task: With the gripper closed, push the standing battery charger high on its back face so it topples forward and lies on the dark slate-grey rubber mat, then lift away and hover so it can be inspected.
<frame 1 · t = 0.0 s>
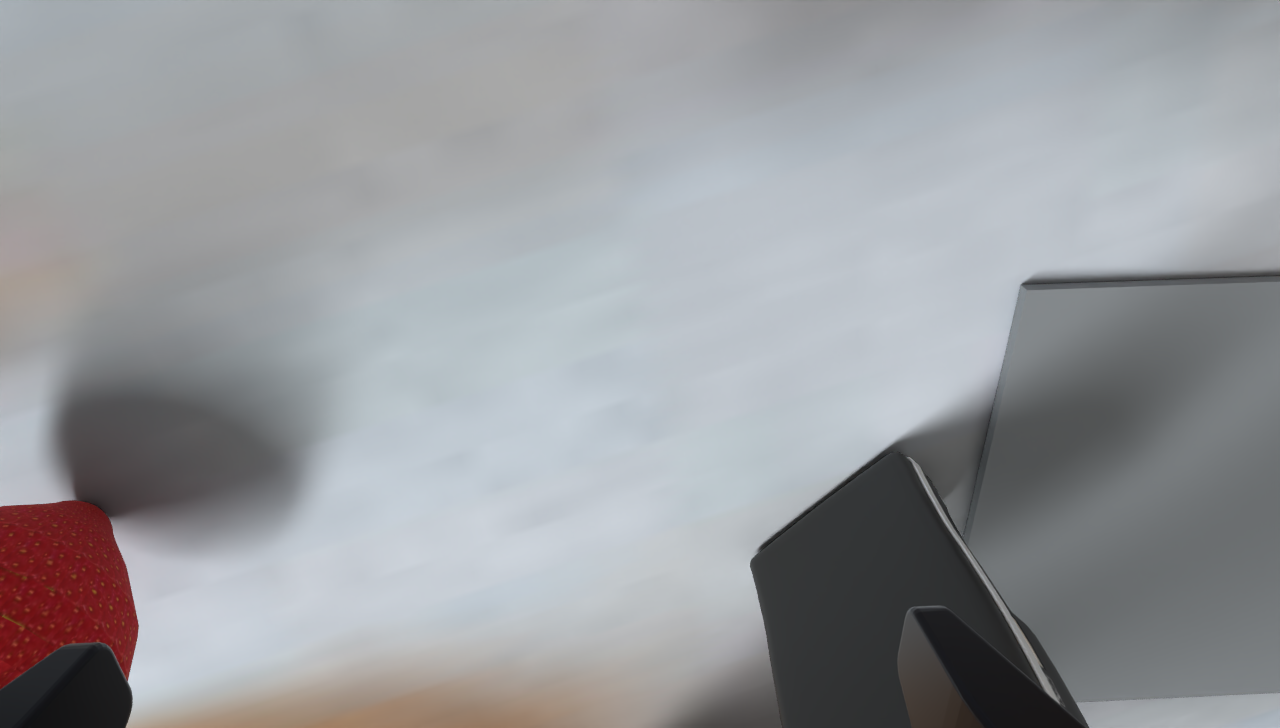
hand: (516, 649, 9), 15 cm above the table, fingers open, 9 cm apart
strawberry: (95, 509, 26), on the table
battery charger: (849, 525, 28), on the table
mat: (1194, 515, 28), on the table
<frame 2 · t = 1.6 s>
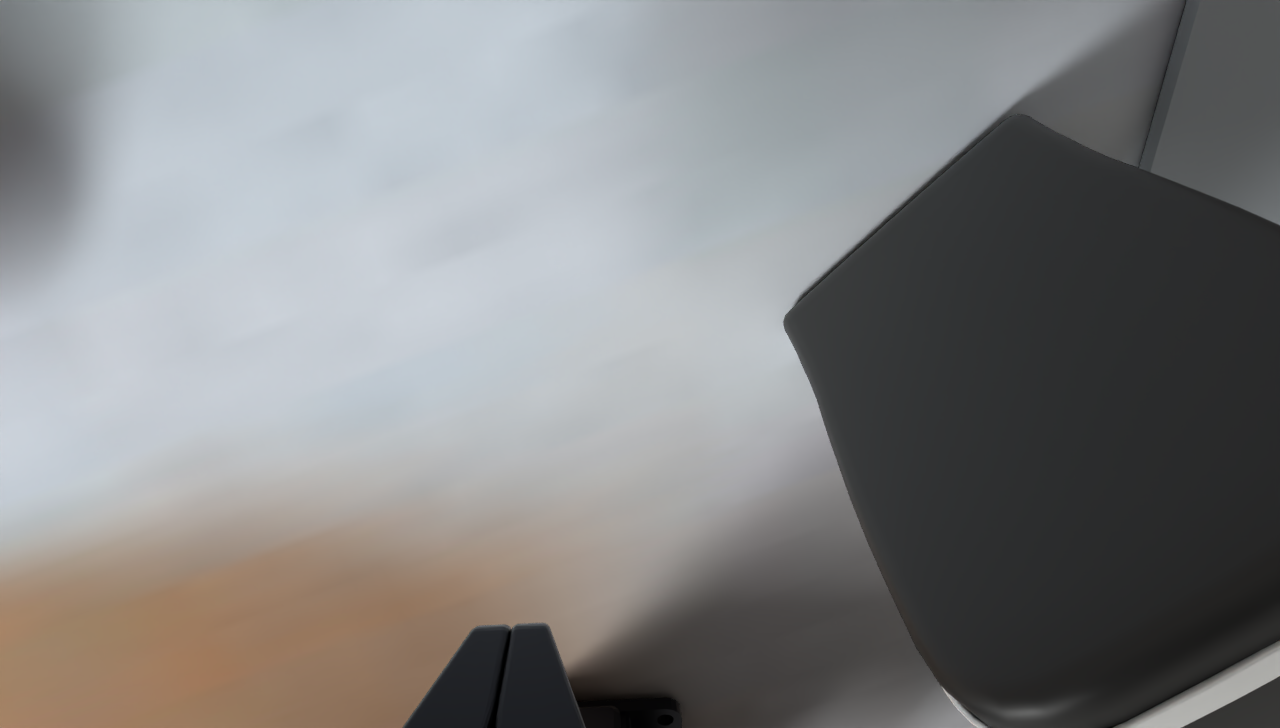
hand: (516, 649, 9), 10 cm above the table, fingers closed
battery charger: (933, 266, 18), on the table
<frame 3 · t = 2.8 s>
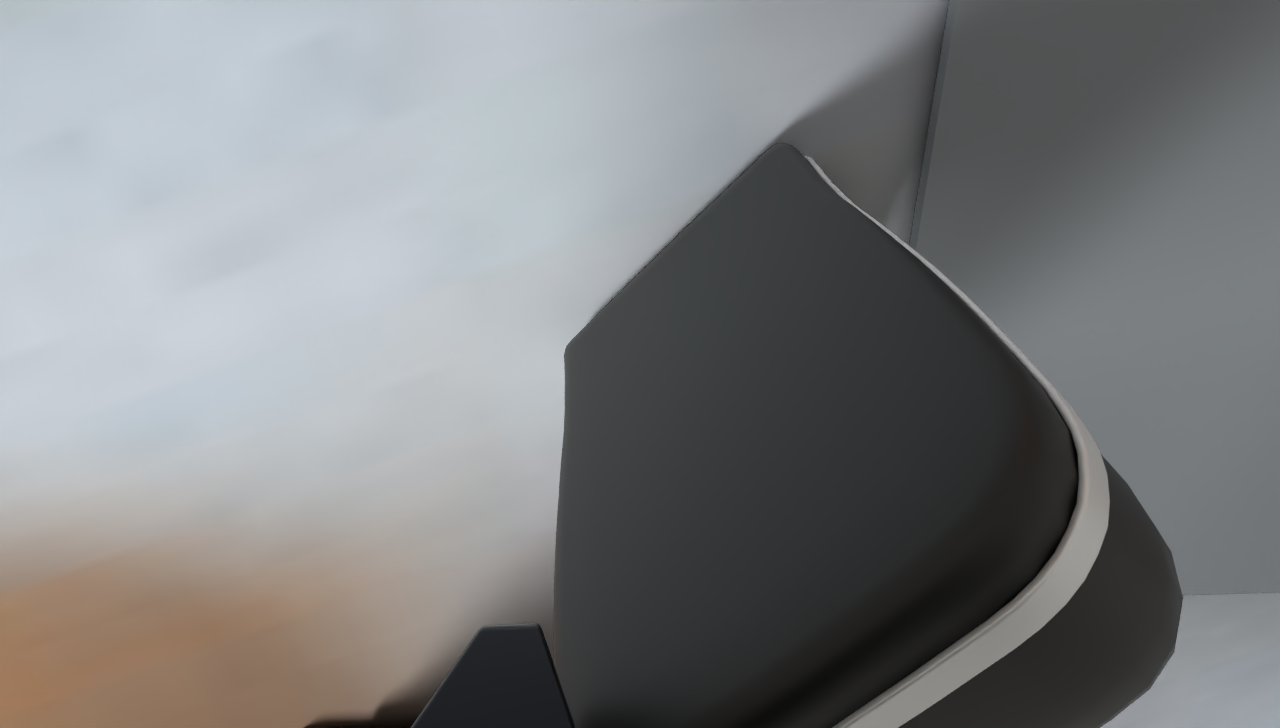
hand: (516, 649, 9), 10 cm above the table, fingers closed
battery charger: (720, 295, 18), on the table, touching gripper
mat: (1252, 288, 18), on the table
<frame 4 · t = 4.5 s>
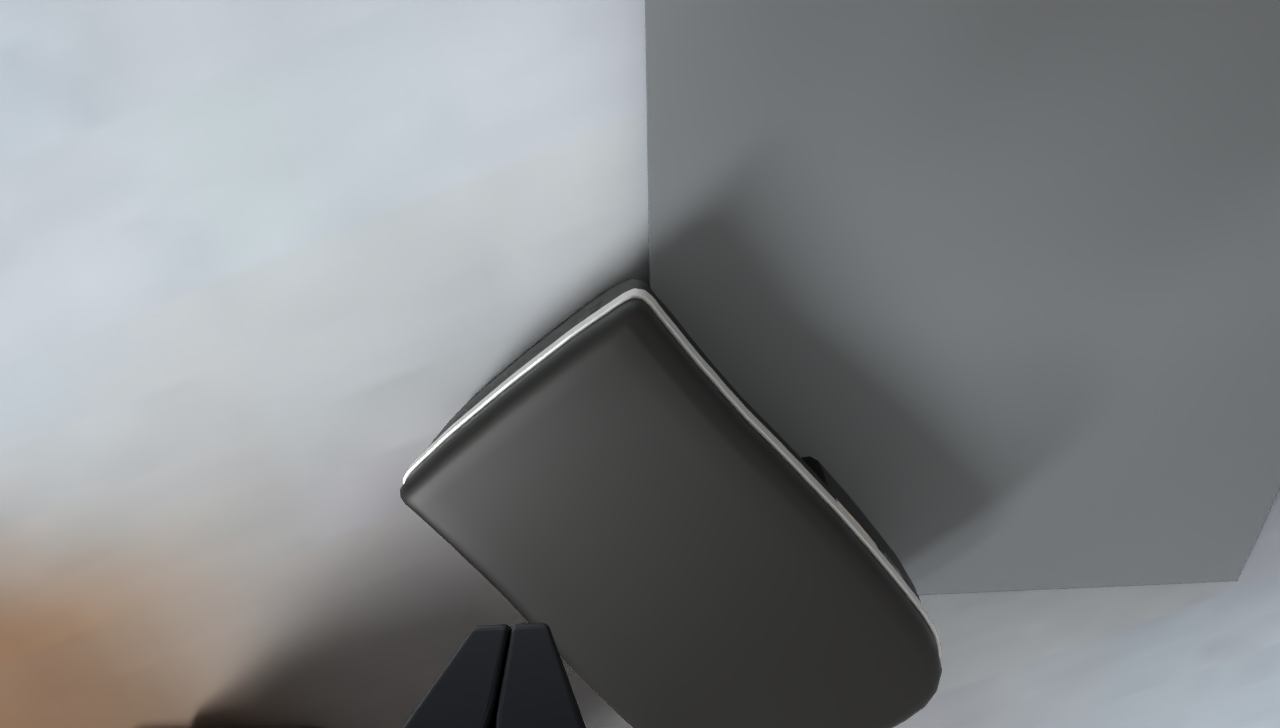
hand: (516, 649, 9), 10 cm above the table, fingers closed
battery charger: (511, 355, 17), point 1 cm above the table, touching mat
mat: (1008, 282, 18), on the table
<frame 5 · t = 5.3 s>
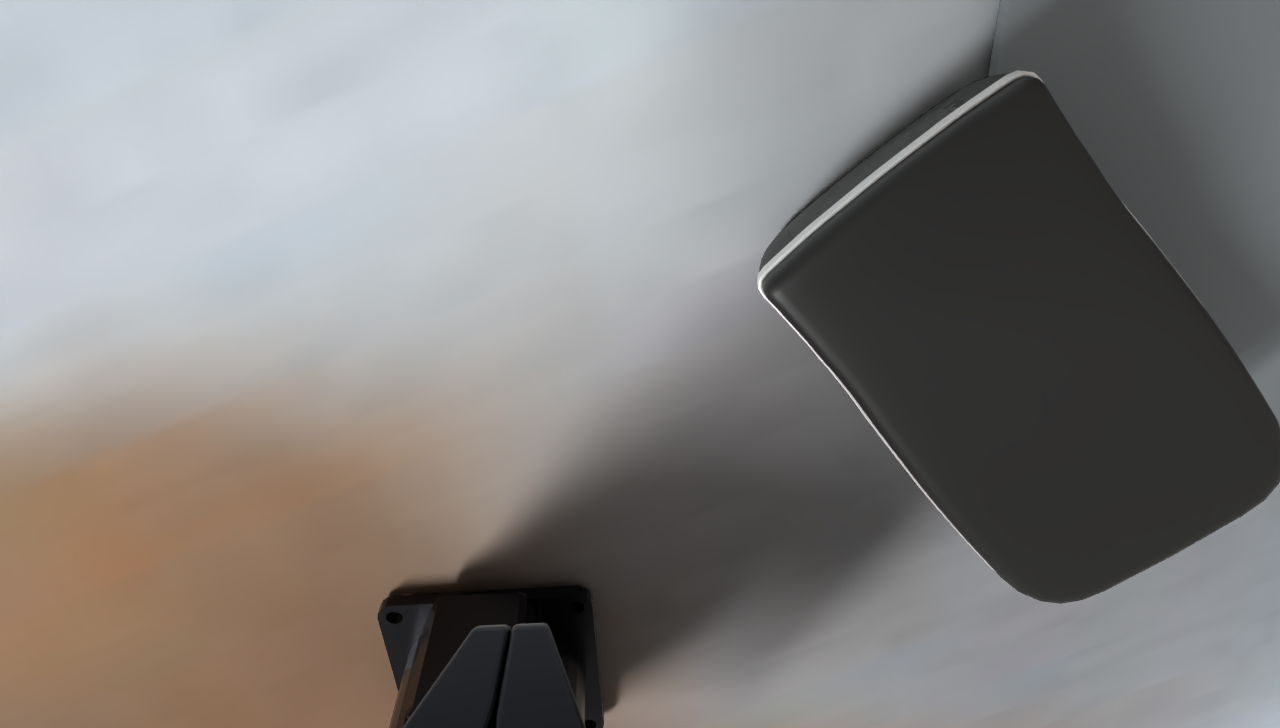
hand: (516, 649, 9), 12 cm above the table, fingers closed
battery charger: (861, 158, 17), point 1 cm above the table, touching mat
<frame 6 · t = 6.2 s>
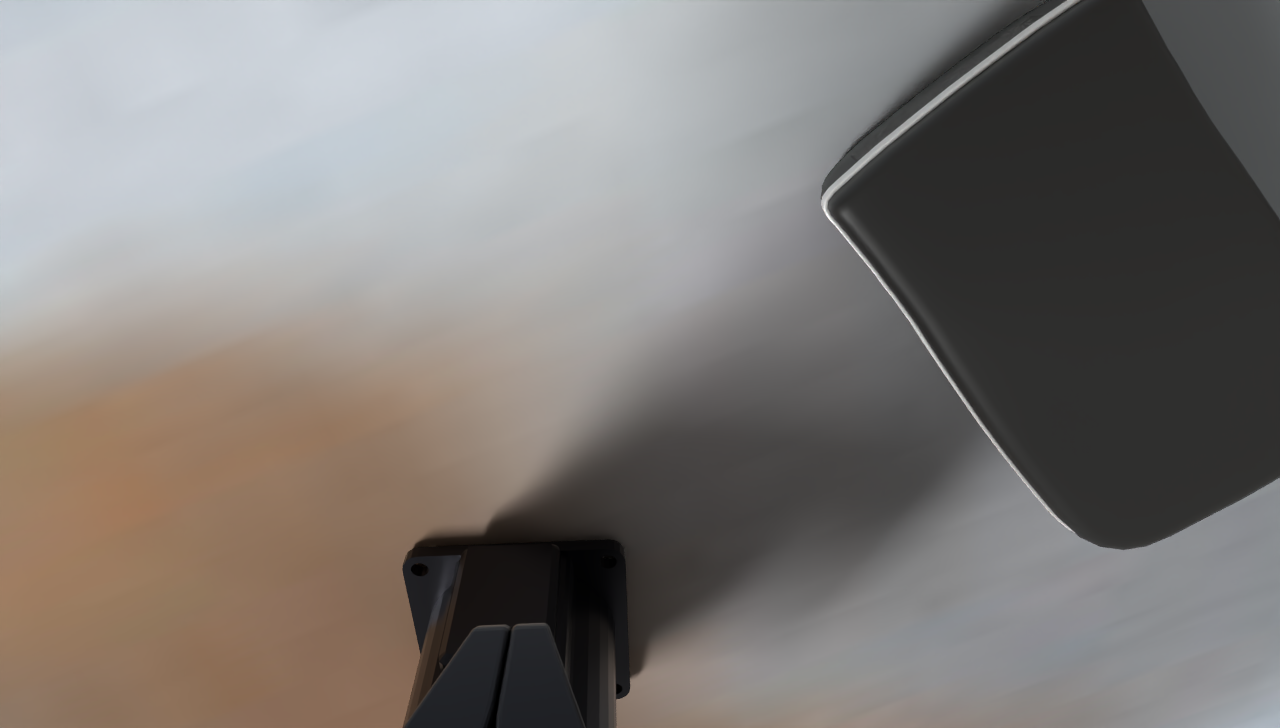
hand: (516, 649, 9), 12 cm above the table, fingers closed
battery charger: (932, 76, 17), point 1 cm above the table, touching mat
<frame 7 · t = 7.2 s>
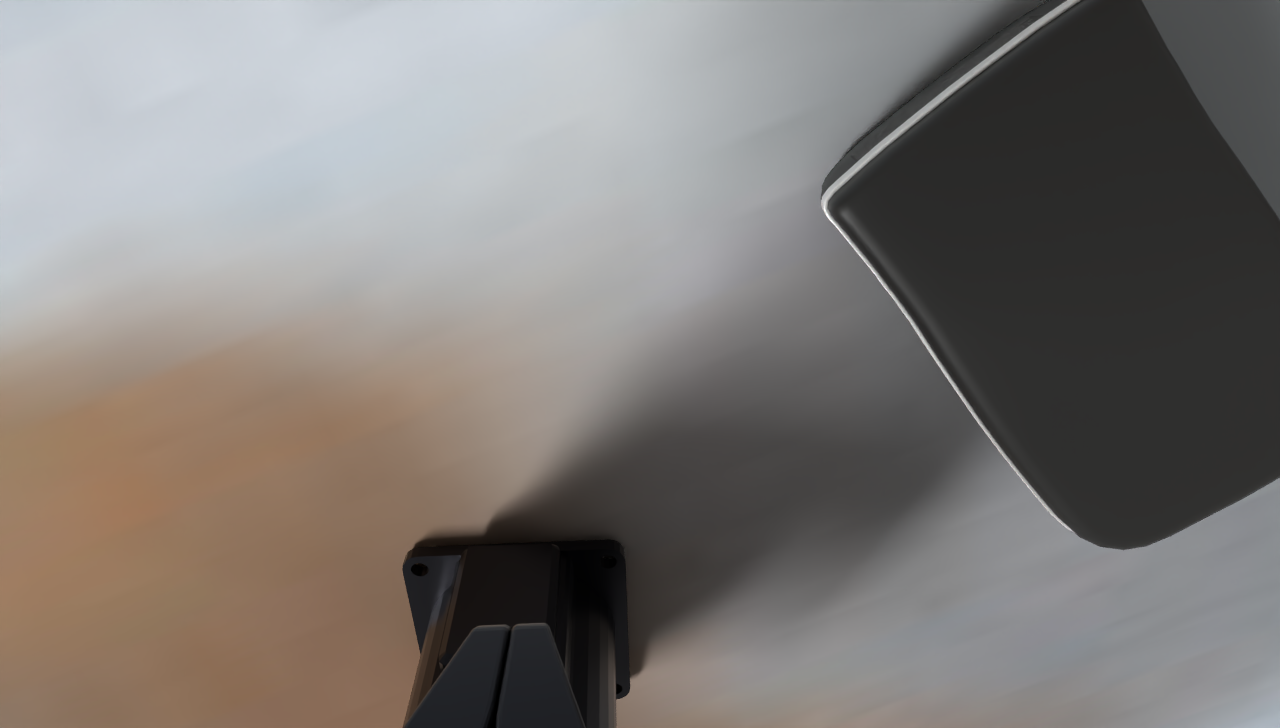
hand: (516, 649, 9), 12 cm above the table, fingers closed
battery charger: (932, 76, 17), point 1 cm above the table, touching mat
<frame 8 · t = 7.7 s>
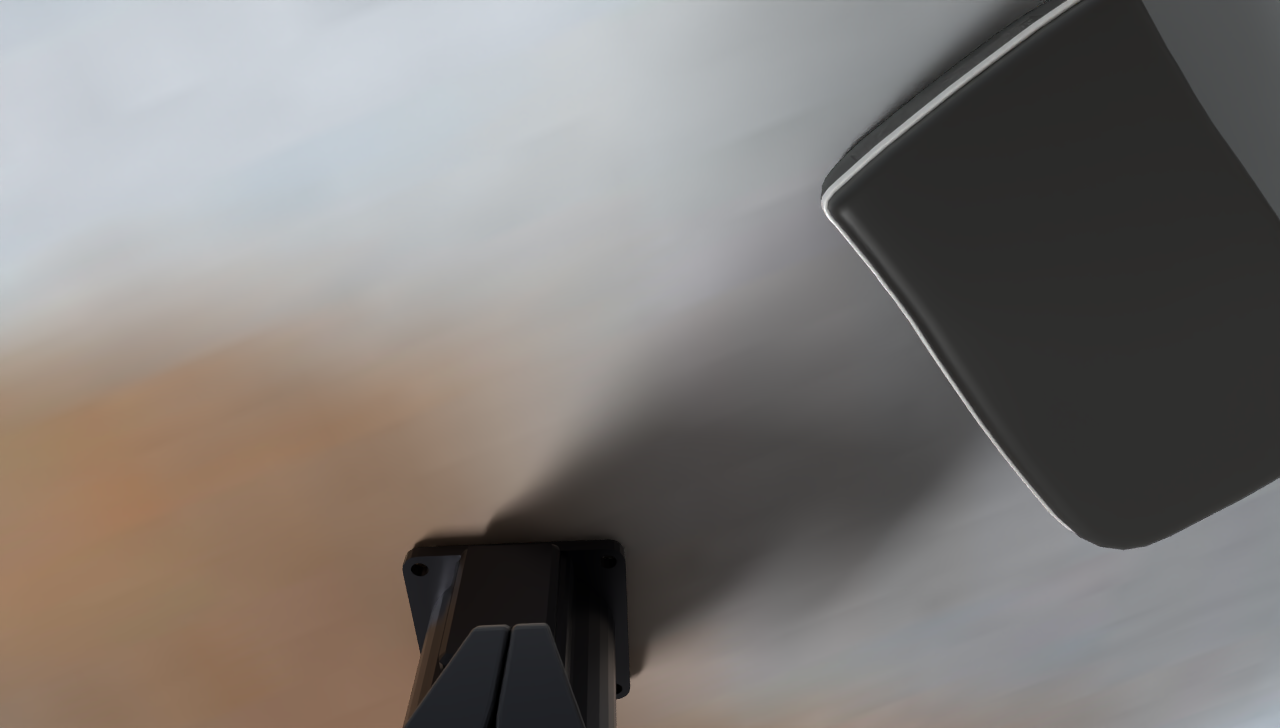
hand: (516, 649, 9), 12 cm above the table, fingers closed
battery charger: (932, 76, 17), point 1 cm above the table, touching mat
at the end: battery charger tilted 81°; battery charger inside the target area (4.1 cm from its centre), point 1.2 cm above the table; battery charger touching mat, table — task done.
